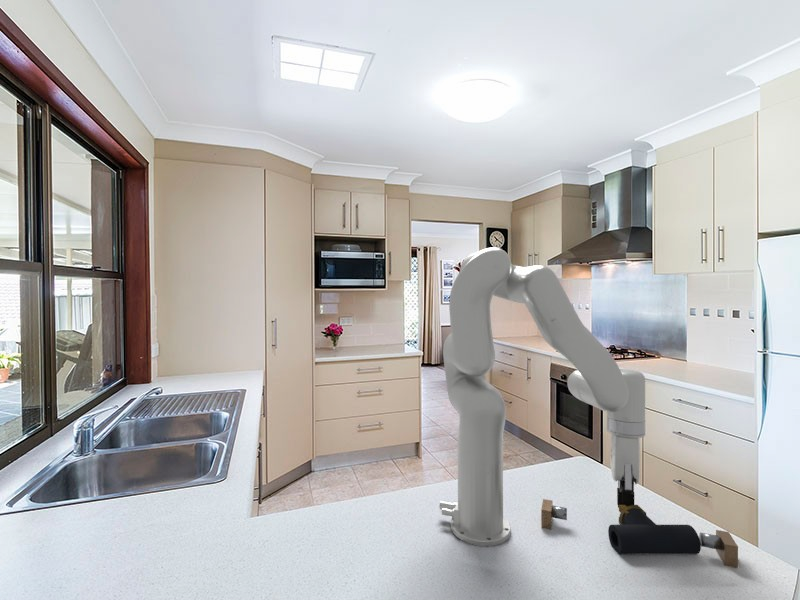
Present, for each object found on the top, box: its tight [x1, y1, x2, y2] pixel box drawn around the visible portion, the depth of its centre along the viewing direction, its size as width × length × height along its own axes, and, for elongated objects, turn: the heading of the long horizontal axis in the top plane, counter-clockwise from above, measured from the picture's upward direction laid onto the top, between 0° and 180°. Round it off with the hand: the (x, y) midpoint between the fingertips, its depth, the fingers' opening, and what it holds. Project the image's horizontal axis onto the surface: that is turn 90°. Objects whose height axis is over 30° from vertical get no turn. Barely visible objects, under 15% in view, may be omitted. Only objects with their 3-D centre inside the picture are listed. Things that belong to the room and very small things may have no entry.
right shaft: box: [698, 529, 739, 569], centre depth 78 cm, size 5×5×4 cm
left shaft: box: [540, 498, 568, 531], centre depth 90 cm, size 5×5×4 cm
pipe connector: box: [607, 504, 702, 555], centre depth 84 cm, size 12×5×15 cm
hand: (625, 507), depth 91 cm, fingers closed
